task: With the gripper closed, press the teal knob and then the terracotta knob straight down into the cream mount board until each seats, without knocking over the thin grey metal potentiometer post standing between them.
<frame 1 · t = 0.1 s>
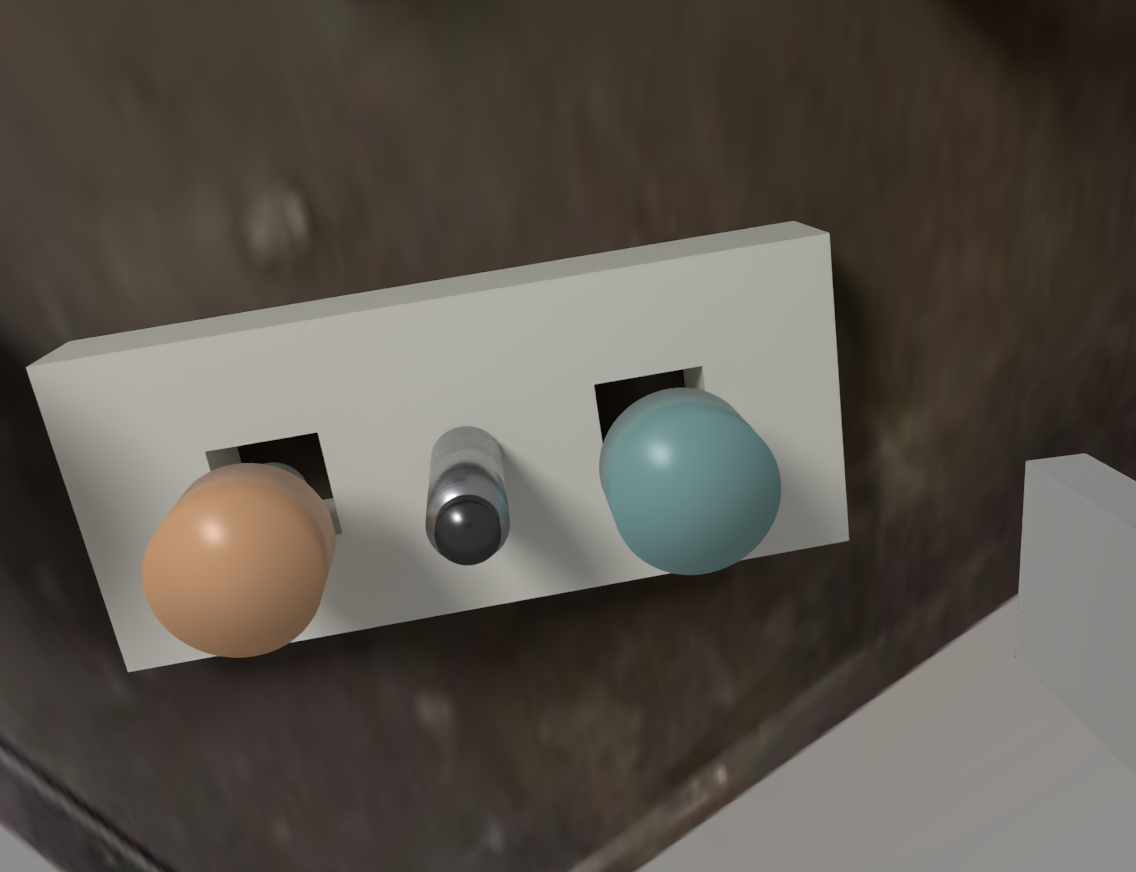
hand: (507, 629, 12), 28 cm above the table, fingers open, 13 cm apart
mount board: (466, 427, 40), on the table
knob terracotta: (256, 532, 33), point 7 cm above the table, slide at 0.0 cm
pot post: (466, 460, 37), point 4 cm above the table, touching mount board
knob teal: (674, 458, 34), point 7 cm above the table, slide at 0.0 cm
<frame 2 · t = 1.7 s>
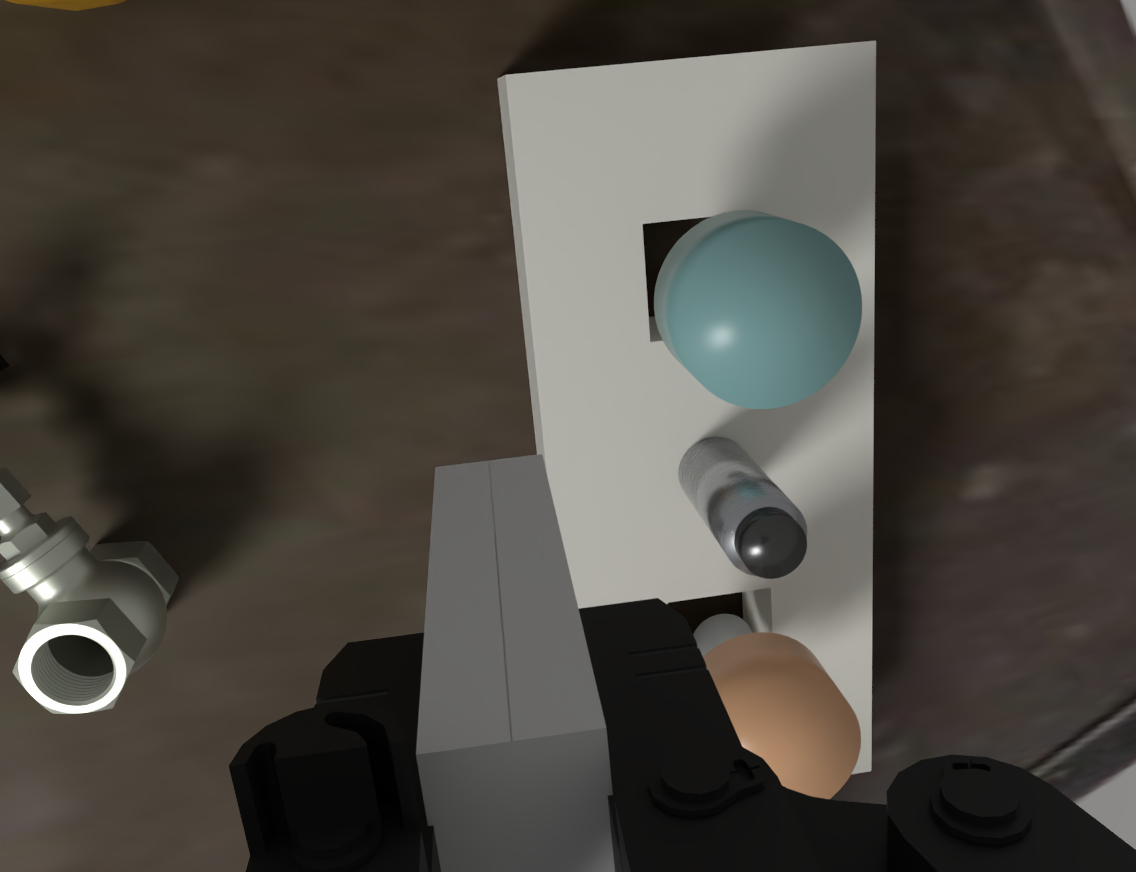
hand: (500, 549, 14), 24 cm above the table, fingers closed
mount board: (686, 437, 40), on the table
valve: (62, 500, 38), on the table
knob terracotta: (749, 691, 35), point 7 cm above the table, slide at 0.0 cm
pot post: (713, 470, 36), point 4 cm above the table, touching mount board
knob teal: (733, 295, 31), point 7 cm above the table, slide at 0.0 cm
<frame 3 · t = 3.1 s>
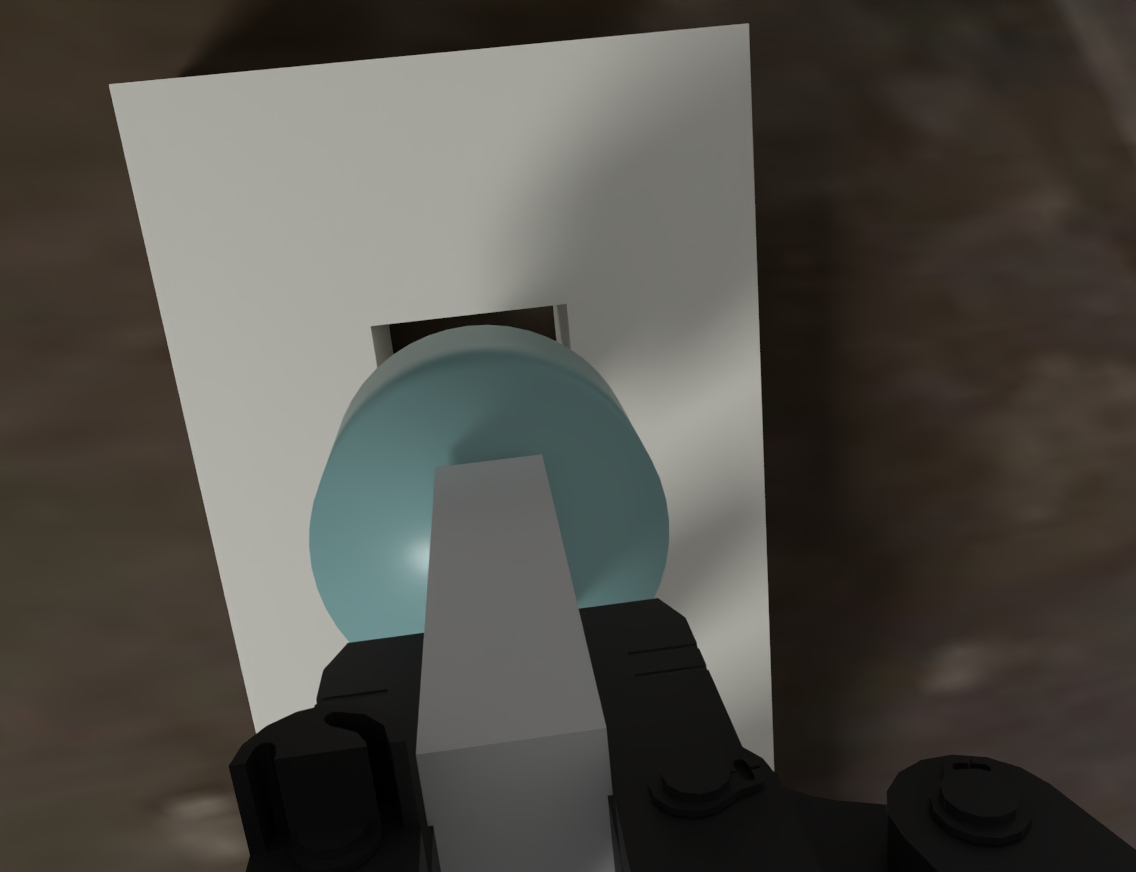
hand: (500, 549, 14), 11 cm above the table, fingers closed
mount board: (509, 613, 27), on the table
knob teal: (485, 463, 18), point 7 cm above the table, slide at 0.1 cm, touching gripper
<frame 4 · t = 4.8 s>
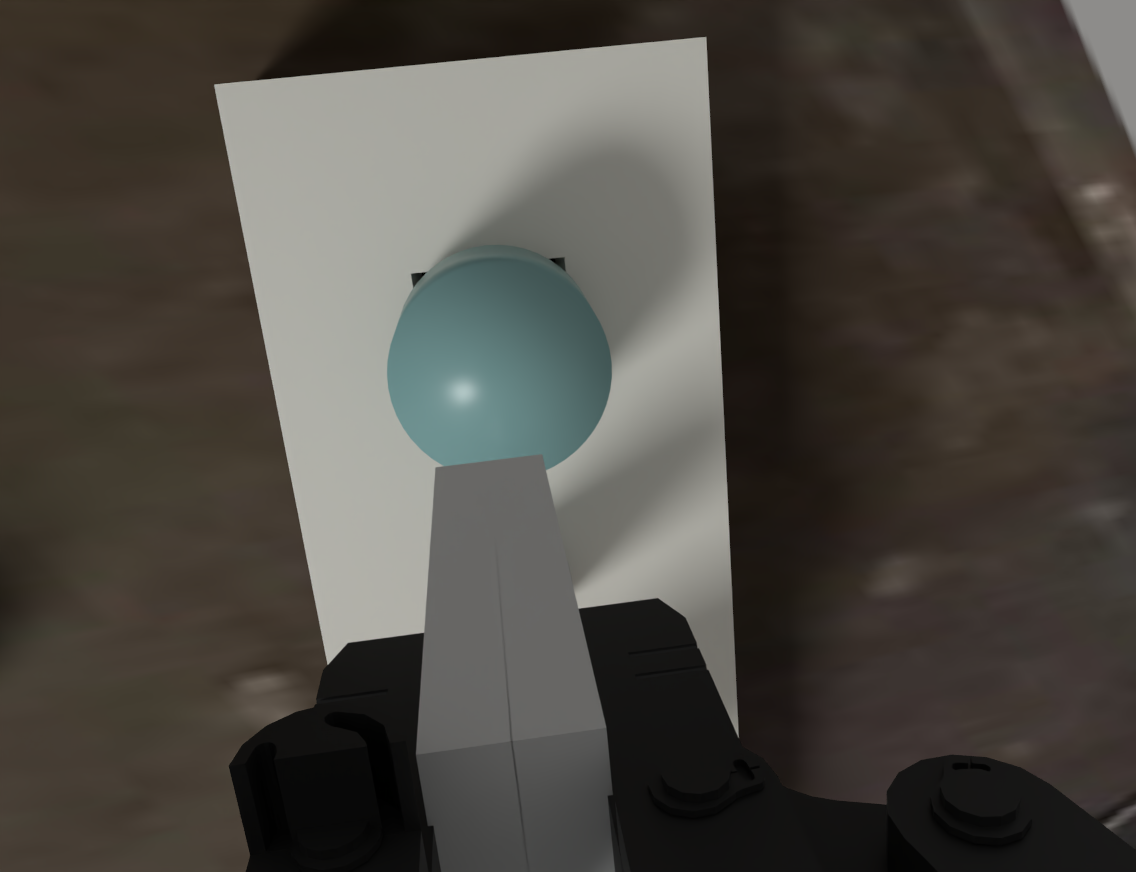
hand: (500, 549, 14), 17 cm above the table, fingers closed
mount board: (519, 522, 33), on the table
knob teal: (497, 341, 27), point 4 cm above the table, slide at 3.4 cm
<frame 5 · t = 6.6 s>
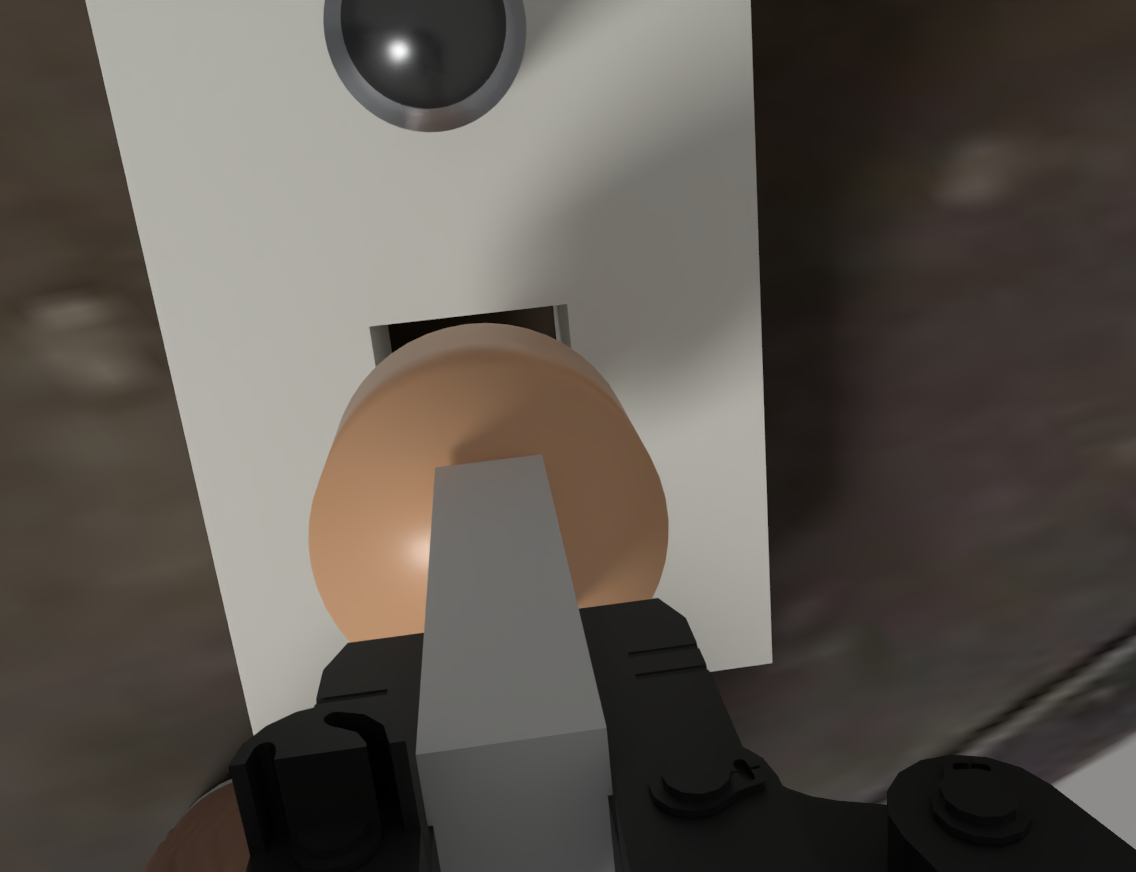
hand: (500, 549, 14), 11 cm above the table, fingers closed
mount board: (438, 59, 22), on the table
coffee cup: (293, 860, 29), on the table
knob terracotta: (485, 461, 18), point 7 cm above the table, slide at 0.3 cm, touching gripper
pot post: (435, 50, 19), point 4 cm above the table, touching mount board
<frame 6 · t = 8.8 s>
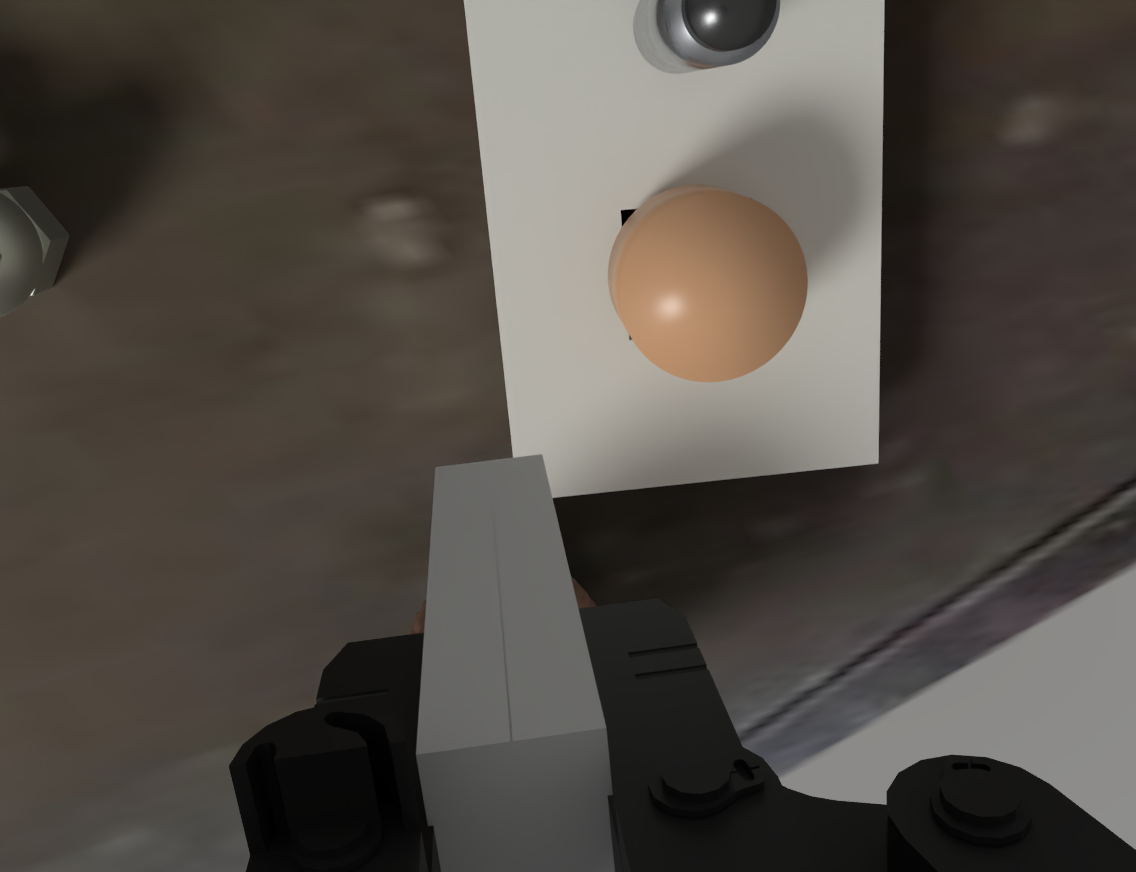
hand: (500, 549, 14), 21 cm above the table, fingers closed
mount board: (656, 35, 33), on the table
coffee cup: (507, 630, 39), on the table
knob terracotta: (690, 270, 31), point 4 cm above the table, slide at 3.4 cm
pot post: (678, 25, 29), point 4 cm above the table, touching mount board
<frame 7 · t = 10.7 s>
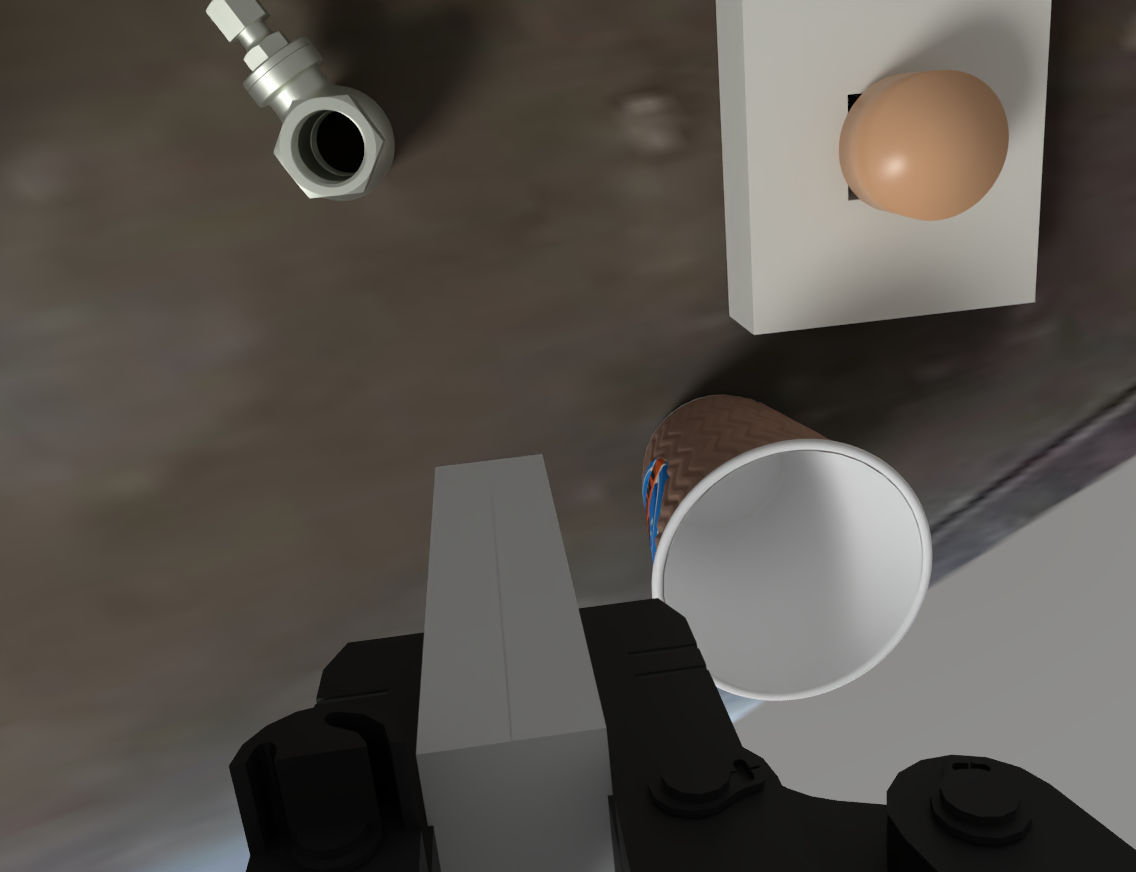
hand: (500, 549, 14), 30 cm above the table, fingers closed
valve: (285, 58, 40), on the table
coffee cup: (713, 462, 47), on the table
knob terracotta: (898, 143, 39), point 4 cm above the table, slide at 3.4 cm
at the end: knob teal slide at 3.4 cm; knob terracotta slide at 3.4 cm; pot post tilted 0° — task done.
